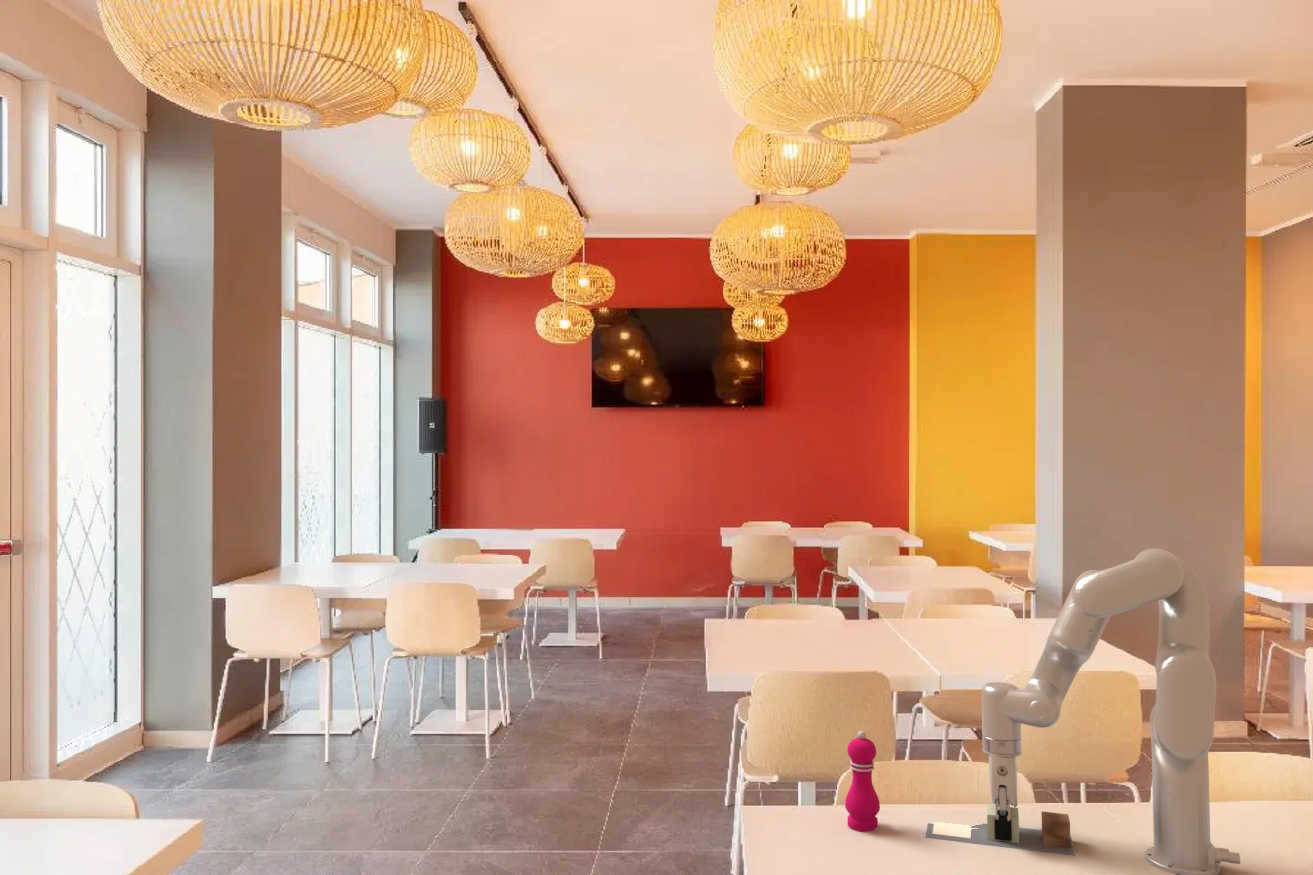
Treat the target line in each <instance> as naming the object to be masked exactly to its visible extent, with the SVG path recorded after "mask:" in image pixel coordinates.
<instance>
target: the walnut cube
mask: <svg viewBox="0 0 1313 875" xmlns="http://www.w3.org/2000/svg"><path fill="white" fill-rule="evenodd" d="M1041 830H1042V840H1043V845H1046V846H1054V847H1062V848H1071V846H1070V836H1071V821H1070V816H1069V814H1067V813H1059V812H1050V811H1043V810H1042V811H1041Z"/></svg>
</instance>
